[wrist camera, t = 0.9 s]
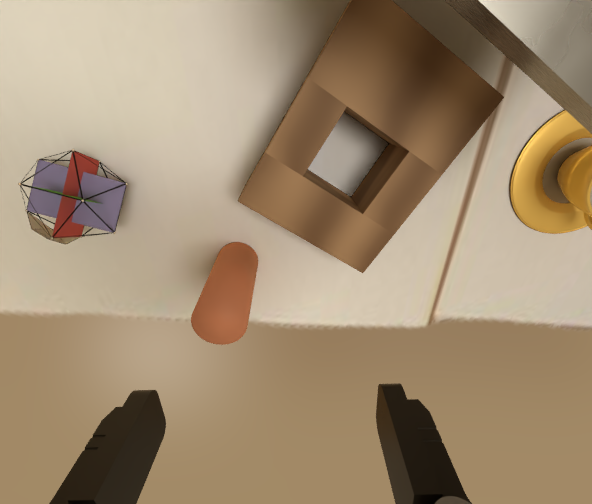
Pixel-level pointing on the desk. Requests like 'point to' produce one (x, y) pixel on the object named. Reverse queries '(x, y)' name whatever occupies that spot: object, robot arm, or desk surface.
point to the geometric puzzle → (73, 198)
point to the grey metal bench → (542, 44)
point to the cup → (571, 179)
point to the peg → (227, 295)
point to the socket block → (378, 118)
